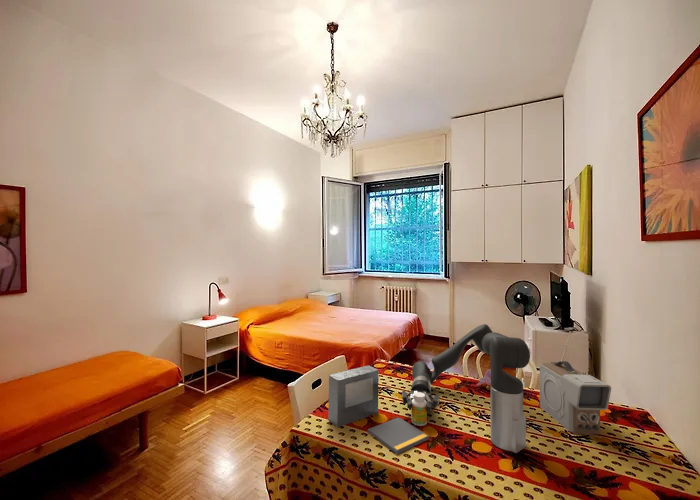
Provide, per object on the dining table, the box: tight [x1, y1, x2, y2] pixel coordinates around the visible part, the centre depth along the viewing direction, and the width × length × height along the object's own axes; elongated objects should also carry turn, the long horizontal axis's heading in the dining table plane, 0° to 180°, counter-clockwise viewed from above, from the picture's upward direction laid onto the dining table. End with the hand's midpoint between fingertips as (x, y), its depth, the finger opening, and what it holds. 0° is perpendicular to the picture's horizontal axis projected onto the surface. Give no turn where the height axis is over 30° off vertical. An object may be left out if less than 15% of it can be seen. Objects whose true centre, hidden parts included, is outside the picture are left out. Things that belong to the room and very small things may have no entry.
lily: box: [476, 368, 491, 387], centre depth 140 cm, size 12×12×10 cm
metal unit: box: [327, 364, 379, 428], centre depth 116 cm, size 7×18×16 cm, turn 124°
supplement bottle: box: [410, 392, 428, 427], centre depth 112 cm, size 5×5×10 cm
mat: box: [367, 417, 430, 455], centre depth 104 cm, size 14×14×1 cm
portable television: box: [539, 331, 612, 435], centre depth 114 cm, size 12×24×30 cm, turn 178°
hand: (418, 408), depth 110 cm, fingers closed on supplement bottle, 5 cm apart
